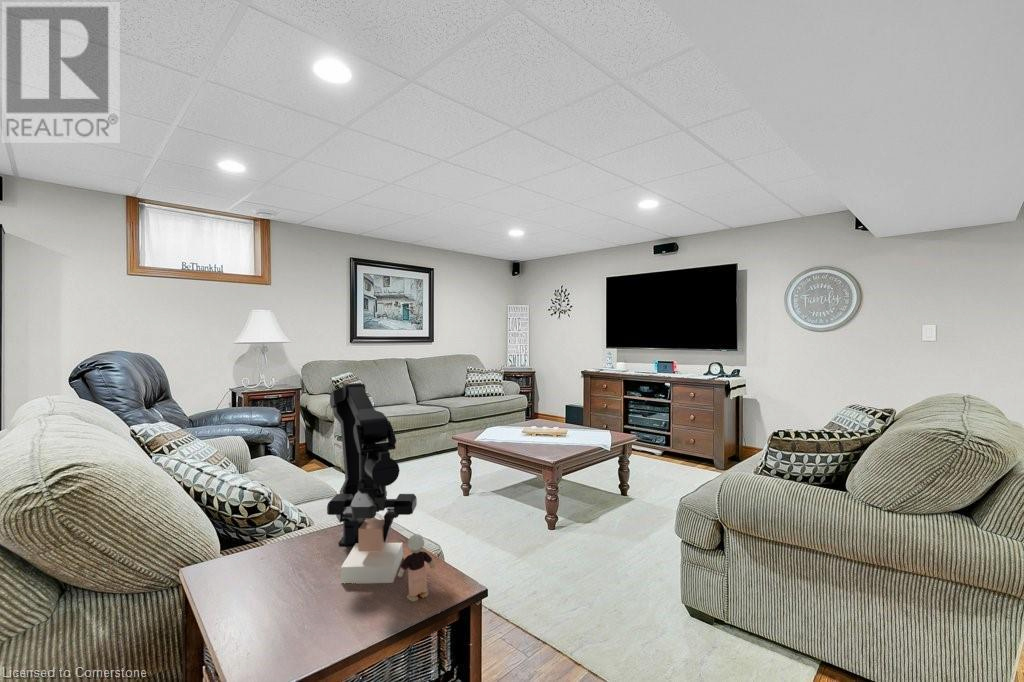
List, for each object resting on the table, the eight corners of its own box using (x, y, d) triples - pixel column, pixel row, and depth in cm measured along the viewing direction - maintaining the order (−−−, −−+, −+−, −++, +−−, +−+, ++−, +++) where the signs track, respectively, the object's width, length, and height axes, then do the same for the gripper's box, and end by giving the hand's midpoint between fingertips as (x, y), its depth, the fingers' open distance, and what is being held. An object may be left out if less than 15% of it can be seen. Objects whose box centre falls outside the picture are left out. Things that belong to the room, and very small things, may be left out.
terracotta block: (365, 540, 109) (365, 519, 108) (387, 540, 109) (387, 519, 109) (358, 551, 104) (358, 528, 103) (381, 551, 104) (381, 528, 104)
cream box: (355, 559, 112) (355, 543, 111) (402, 559, 112) (402, 542, 112) (341, 585, 101) (340, 567, 100) (392, 584, 101) (392, 566, 101)
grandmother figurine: (426, 585, 100) (426, 526, 99) (437, 593, 97) (436, 532, 97) (394, 600, 94) (393, 538, 94) (404, 608, 92) (404, 544, 91)
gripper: (316, 485, 97) (317, 559, 98) (406, 485, 98) (407, 559, 98) (336, 468, 109) (336, 535, 109) (416, 468, 109) (417, 535, 109)
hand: (373, 541), depth 106 cm, fingers closed on terracotta block, 5 cm apart
